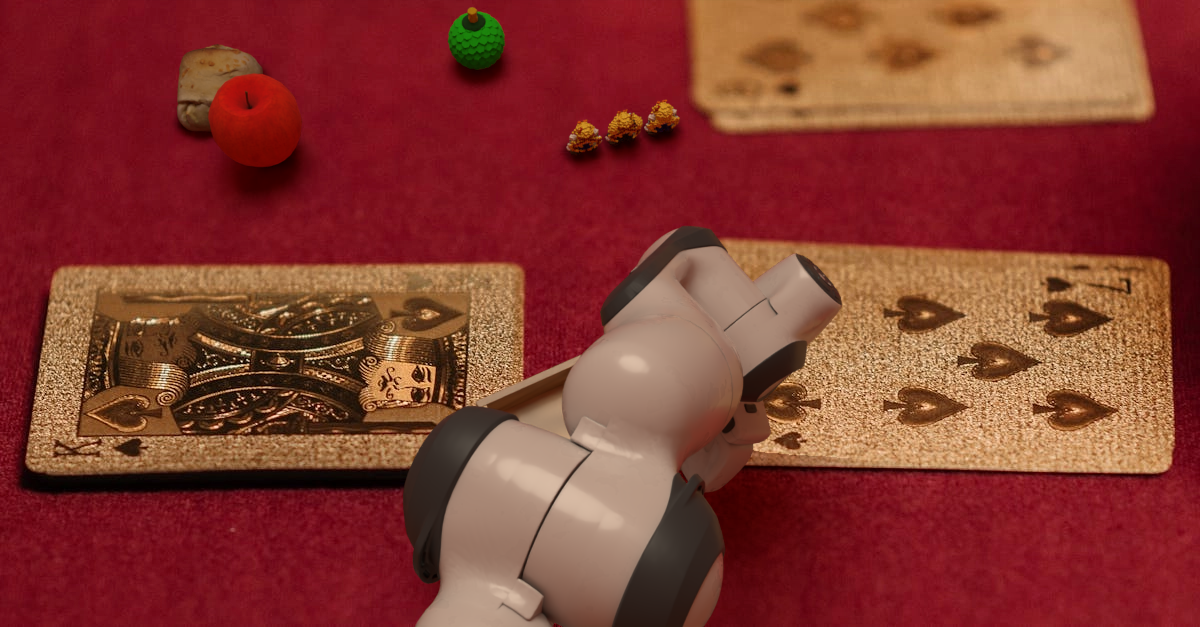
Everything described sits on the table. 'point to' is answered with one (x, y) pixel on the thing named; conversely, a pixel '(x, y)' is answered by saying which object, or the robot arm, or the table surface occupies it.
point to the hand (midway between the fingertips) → (633, 443)
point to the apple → (255, 120)
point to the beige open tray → (535, 399)
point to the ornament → (476, 40)
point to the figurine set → (623, 128)
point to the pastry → (208, 81)
